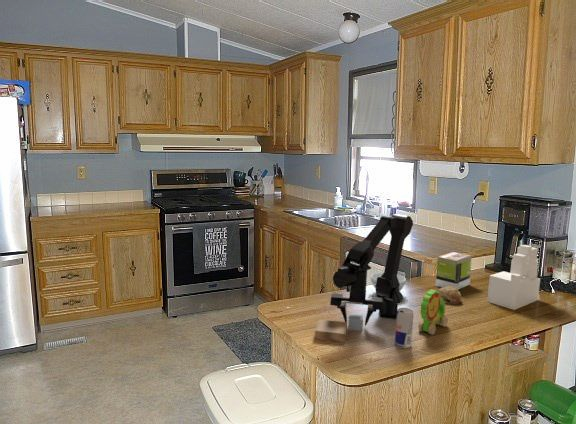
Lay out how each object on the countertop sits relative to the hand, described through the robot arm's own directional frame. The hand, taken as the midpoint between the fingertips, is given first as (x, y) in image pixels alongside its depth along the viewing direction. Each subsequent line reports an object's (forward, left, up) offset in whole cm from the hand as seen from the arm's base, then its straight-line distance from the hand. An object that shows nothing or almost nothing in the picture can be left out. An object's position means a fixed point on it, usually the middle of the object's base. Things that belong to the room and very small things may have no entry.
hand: (355, 324), depth 164 cm
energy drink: (-16, +11, -1) cm, 19 cm away
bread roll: (-38, -40, -1) cm, 55 cm away
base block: (+8, +9, -1) cm, 12 cm away
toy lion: (-27, -5, -1) cm, 27 cm away
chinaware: (-12, -40, -1) cm, 42 cm away
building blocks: (-66, -47, -1) cm, 81 cm away
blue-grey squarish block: (0, 0, -1) cm, 1 cm away
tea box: (-43, -62, -1) cm, 75 cm away
